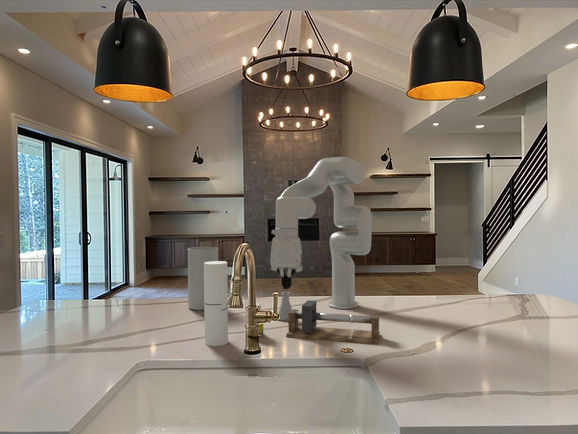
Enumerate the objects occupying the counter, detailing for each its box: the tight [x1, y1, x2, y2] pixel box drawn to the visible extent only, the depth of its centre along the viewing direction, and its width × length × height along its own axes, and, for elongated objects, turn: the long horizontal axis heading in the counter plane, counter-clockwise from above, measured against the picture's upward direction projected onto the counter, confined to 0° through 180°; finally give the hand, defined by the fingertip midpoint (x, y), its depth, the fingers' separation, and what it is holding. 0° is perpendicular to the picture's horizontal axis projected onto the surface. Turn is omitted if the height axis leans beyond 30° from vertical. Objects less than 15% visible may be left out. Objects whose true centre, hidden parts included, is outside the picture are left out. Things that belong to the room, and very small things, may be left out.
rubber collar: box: [301, 299, 318, 332], centre depth 138 cm, size 3×8×8 cm, turn 164°
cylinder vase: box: [187, 246, 219, 311], centre depth 176 cm, size 12×12×25 cm
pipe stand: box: [285, 308, 381, 345], centre depth 135 cm, size 29×10×7 cm, turn 74°
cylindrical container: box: [204, 260, 229, 347], centre depth 129 cm, size 7×7×25 cm
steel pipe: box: [295, 310, 372, 325], centre depth 135 cm, size 27×3×3 cm, turn 74°
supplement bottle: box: [255, 302, 264, 337], centre depth 137 cm, size 6×6×10 cm
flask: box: [277, 291, 293, 322], centre depth 157 cm, size 7×7×10 cm
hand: (286, 288), depth 139 cm, fingers closed
